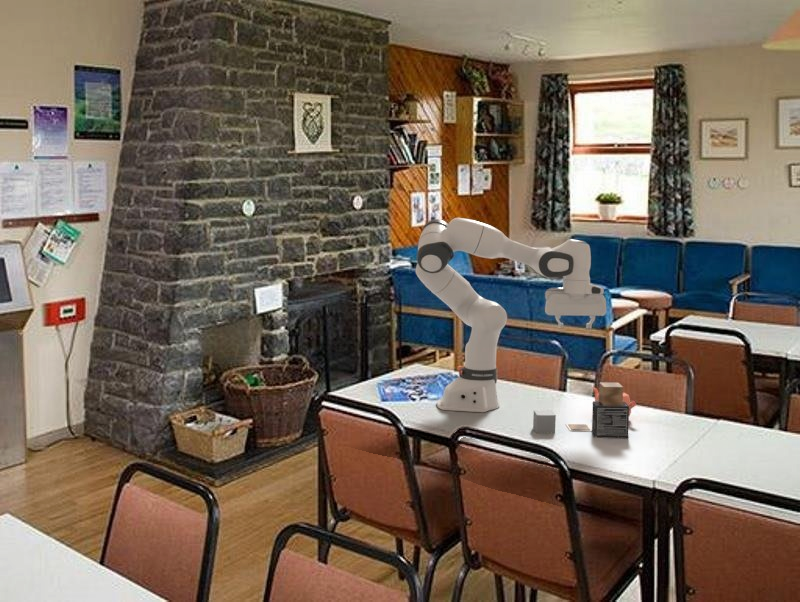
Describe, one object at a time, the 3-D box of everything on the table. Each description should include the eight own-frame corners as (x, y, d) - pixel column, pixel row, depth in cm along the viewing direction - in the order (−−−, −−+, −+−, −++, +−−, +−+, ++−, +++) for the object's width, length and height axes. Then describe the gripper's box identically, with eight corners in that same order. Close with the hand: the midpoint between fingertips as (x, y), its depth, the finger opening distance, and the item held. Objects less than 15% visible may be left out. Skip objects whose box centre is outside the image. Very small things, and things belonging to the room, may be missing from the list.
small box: (624, 432, 259) (625, 401, 258) (628, 438, 253) (630, 406, 252) (591, 431, 260) (592, 400, 259) (594, 437, 254) (596, 405, 252)
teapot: (632, 415, 280) (633, 386, 279) (635, 424, 268) (636, 395, 267) (590, 413, 283) (591, 384, 281) (591, 422, 271) (592, 392, 270)
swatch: (570, 431, 260) (570, 429, 260) (565, 424, 267) (565, 423, 267) (592, 431, 260) (592, 430, 260) (587, 425, 267) (587, 423, 267)
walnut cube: (603, 405, 252) (604, 386, 252) (598, 400, 258) (599, 382, 258) (622, 405, 252) (623, 387, 252) (617, 400, 258) (618, 382, 257)
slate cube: (536, 433, 258) (536, 415, 257) (533, 428, 264) (533, 410, 263) (555, 433, 258) (555, 415, 257) (551, 428, 264) (552, 410, 263)
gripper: (547, 288, 267) (545, 329, 268) (608, 289, 267) (606, 330, 268) (543, 286, 273) (542, 326, 275) (603, 287, 273) (602, 327, 275)
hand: (574, 328), depth 272 cm, fingers open, 8 cm apart
